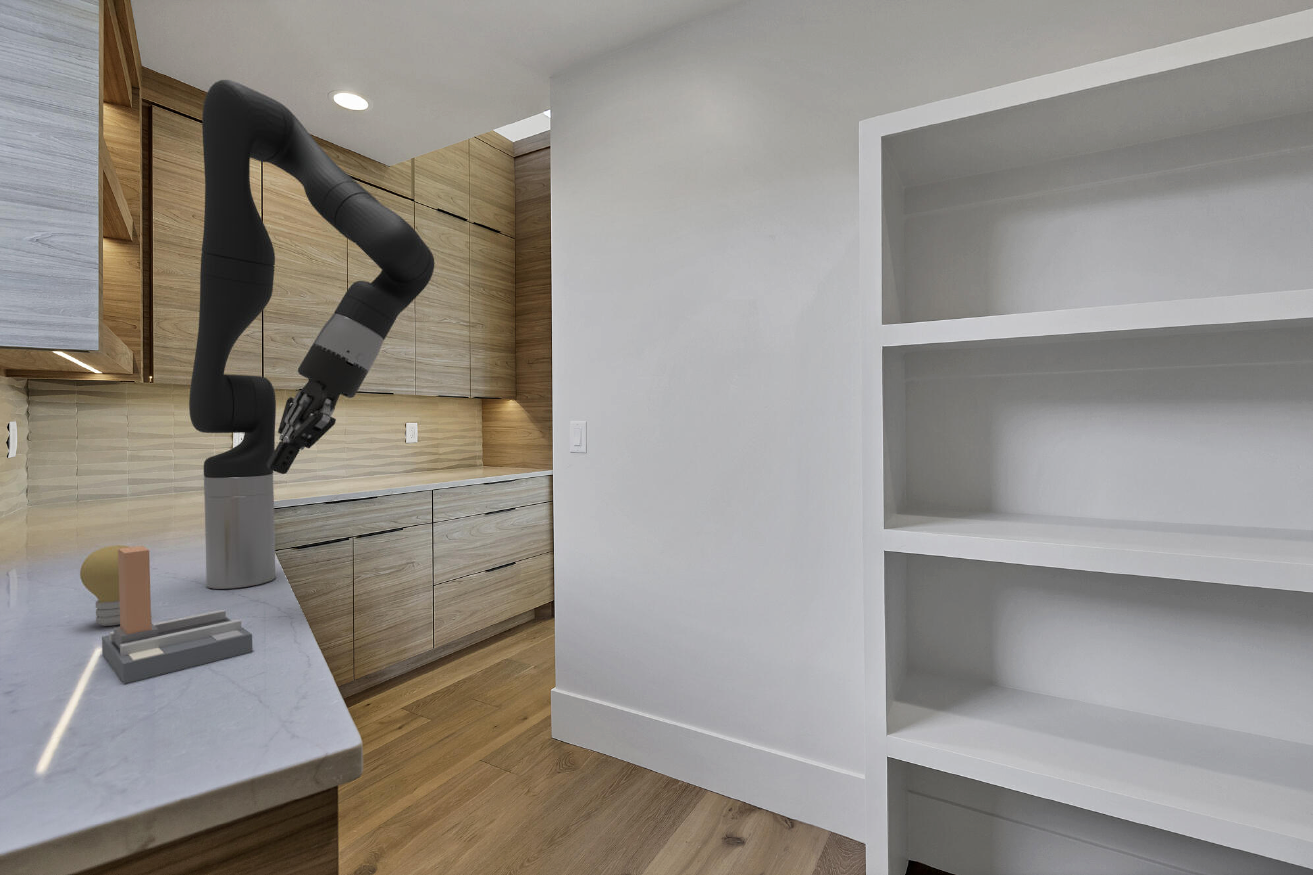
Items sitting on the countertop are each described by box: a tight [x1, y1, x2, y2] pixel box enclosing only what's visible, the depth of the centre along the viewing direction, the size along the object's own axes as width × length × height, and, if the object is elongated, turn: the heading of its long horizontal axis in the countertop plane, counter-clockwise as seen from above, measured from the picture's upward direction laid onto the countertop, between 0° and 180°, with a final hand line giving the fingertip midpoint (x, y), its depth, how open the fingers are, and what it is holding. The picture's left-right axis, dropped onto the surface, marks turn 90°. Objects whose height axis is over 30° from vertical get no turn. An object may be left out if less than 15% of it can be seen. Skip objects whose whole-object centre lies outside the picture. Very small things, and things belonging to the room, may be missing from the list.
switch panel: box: [101, 609, 253, 685], centre depth 68 cm, size 12×11×3 cm
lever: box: [113, 545, 158, 648], centre depth 66 cm, size 4×3×10 cm
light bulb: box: [79, 545, 130, 627], centre depth 79 cm, size 6×6×10 cm
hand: (275, 470), depth 80 cm, fingers closed
